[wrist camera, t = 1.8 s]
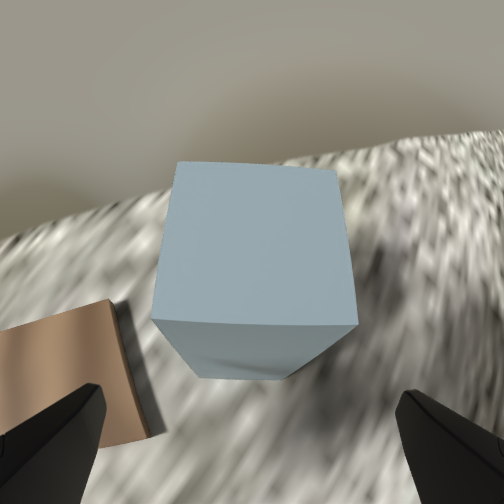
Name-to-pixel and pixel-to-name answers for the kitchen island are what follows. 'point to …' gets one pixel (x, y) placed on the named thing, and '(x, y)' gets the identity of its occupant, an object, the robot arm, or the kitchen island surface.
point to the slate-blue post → (253, 269)
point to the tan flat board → (70, 370)
